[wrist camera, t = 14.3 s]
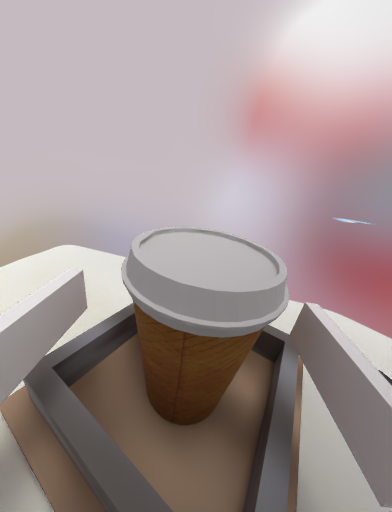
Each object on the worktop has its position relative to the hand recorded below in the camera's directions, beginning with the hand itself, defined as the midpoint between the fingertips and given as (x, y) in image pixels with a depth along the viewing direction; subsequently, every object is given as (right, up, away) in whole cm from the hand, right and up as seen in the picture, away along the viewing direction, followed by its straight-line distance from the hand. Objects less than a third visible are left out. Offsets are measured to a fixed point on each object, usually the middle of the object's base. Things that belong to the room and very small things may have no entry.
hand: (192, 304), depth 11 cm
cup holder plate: (-1, -8, +5) cm, 10 cm away
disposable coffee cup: (-1, -8, +4) cm, 9 cm away
